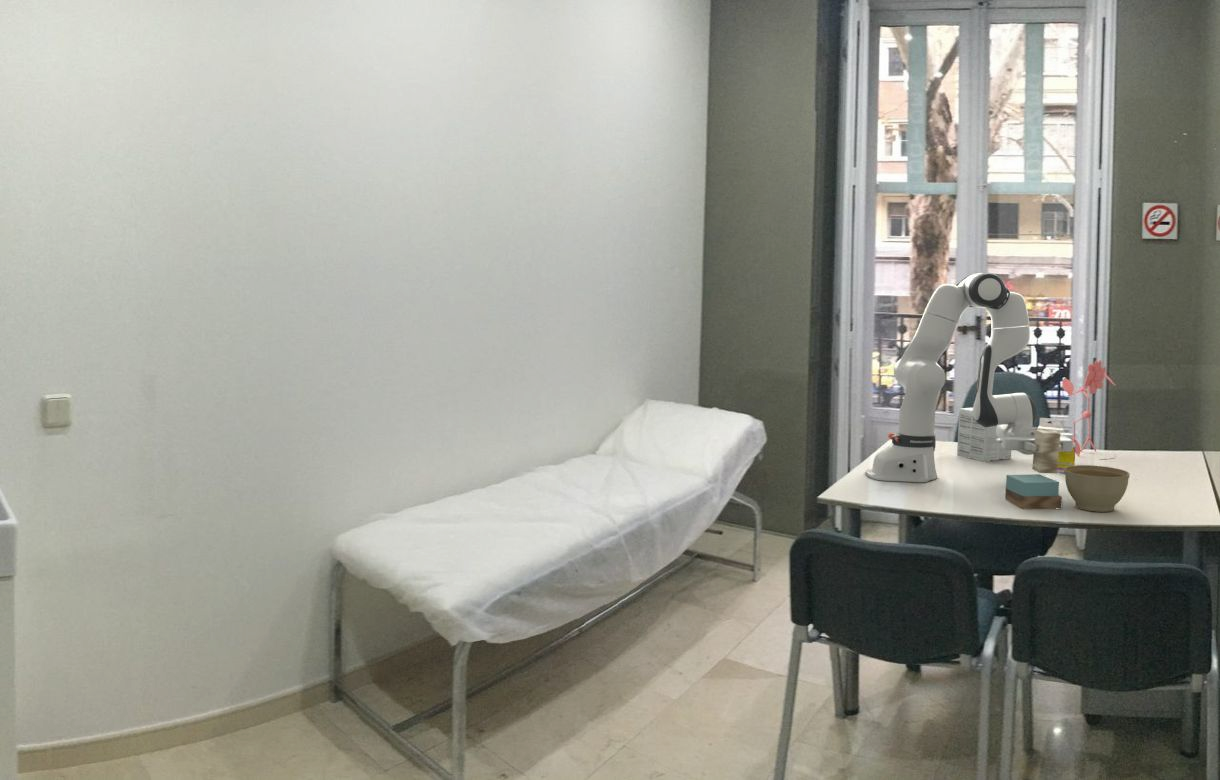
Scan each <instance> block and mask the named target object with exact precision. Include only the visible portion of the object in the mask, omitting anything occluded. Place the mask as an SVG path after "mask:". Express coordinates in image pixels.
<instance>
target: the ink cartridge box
mask: <svg viewBox="0 0 1220 780" xmlns="http://www.w3.org/2000/svg"><path fill="white" fill-rule="evenodd" d="M1049 422H1054V423H1049ZM1037 428H1039V429H1045V430H1053V431H1057V432H1058V433H1065V420H1064V419H1061V418H1059V419H1058V418H1047V417H1040V418H1039V423H1038V427H1037Z"/></svg>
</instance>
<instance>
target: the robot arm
mask: <svg viewBox="0 0 1220 780" xmlns="http://www.w3.org/2000/svg"><path fill="white" fill-rule="evenodd" d="M968 308H976V309H983V308H984V309H986V310H987V311H988V314H989V317H990V319H991V320H990V324H991V325H990V326H991V332H990V333H991V334H990V338H989V341H988V343H987V344H986V345H985V346H983V347H982V350H981V353H980V357H979V364H978V371H977V372H978V373H977V380H976V388H975V394H974V395H975V396H974V399H973V403H972V408H973V418H974V420H975V421H976V422H977V423H978V424H980V425H981V426H983V427H992V426H997V427H996V435H997V437H998V439H996V441H997V442H999V443H1001V447H1002V448H1004V449H1006V450H1011V451H1017V452H1018V453H1021V454H1022V455H1027V456H1030V455H1031V456H1032V455H1033V454H1034V451H1039V445H1037V444H1034V442H1035V430H1045V429H1039V428H1038V427H1036V426H1035V424H1036V422H1037V417H1038V416H1037V415H1038V409H1037V405H1036V402H1035V401H1034V400H1033V399H1032V397H1031V396H1030V395H1028V394H1027V393H1025V392H1015V393H1006V394H1005V393H1004V394H994V395H993V387H994V379H995V372H996V369H997V368H998V366H999V365H1000V364H1001V363H1002V362H1004V361H1007V360H1008V359H1010V358H1012V357H1014V356H1017V355H1018V354H1019V353H1021V352H1022V351H1024V349H1025V348H1027V346H1028V344H1029V342H1030V335H1031V331H1030V318H1029V312H1028V307H1027V303H1026V300H1025V298H1024V296H1023V295H1022V294H1020V293H1017V292H1015V291H1010V290H1009V288H1008V287H1007V285H1006V284H1005V283H1004V280H1002V278H1001V277H1000V276H999V275H998V274H995V273H992V272H976V273H973V274H970V275H968V276H966V277H964V278H963V279H962V280H960V282H958V283H957V284H956V285H955V284H951V283H945V284H941V285H939V286H938V287H937V288H936V289H935V290H934V291H933V293H932V295H931V297H930V299H929V301H928V303H927V305H926V307H925V309H924V312H923V315H922V317H921V319H920V321H919V324H918V327H917V330H916V331H915V334H914V335H913V338H912V340H911V341H910V343H909V344H908V346H907V348H906V349H905V351H904V352H903V355H902V356H901V358H900V359H899V360H898V361H897V362H896V363H895V364H894V367H893V376H894V378H895V380H896V381H897V383H898V384H899V385H900V386H901V387H903V388H904V389H905V391H904V396H903V400H902V404H901V406H900V407H899V410H898V432H896V433H895V434H894V433H893V432H889V433H888V434H887V437H888V439H889V440H891V444H890V445H888V446H887V447H885V448H884V449H883V450H882V451H880V452H878V453H876V455H875V456H874V459H873V462H872V467H871V468H866V469H865V475H866V476H867V477H868V478H870V479H873V480H875V481H886V482H888V481H889V482H910V483H911V482H912V483H927V482H929V481H932V480H936V479H938V478H939V477H938V473H937V470H936V469H937V468H936V460H935V451H936V441H937V440H936V434H935V425H936V424H935V423H936V410H937V405H938V401H939V397H940V394H941V390H942V388H943V387H944V386H945V383H946V379H947V378H946V377H947V376H946V373H945V370H944V369H943V367H941V366H940V365H939V364H938V362H939V360H940V358H941V357H942V355H943V354H944V352H945V351H946V350H947V349H948V348H950V346H951V343H952V341H953V338H954V336H955V333H956V330H957V328H958V326H959V322H960V320H961V317H962V315H963V313H964V312H965V310H967V309H968ZM1055 432H1057V431H1055ZM1072 450H1073V440H1072V439H1070V438H1068V437H1066V436H1063V435H1060V443H1059V452H1071V451H1072Z"/></svg>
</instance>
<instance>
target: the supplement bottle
mask: <svg viewBox="0 0 1220 780" xmlns="http://www.w3.org/2000/svg"><path fill="white" fill-rule="evenodd" d="M1060 435H1063V436H1066V437H1068V438H1070V439H1074V433H1070V432H1064V433H1060ZM1075 448H1076V444H1075V443H1074V442H1073V450H1072V451H1071V452H1059V454H1058V465H1057V473H1059V474H1065V472H1064V469H1065V468H1066V467H1068V466H1075V462H1076V453H1075Z"/></svg>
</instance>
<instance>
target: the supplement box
mask: <svg viewBox="0 0 1220 780" xmlns="http://www.w3.org/2000/svg"><path fill="white" fill-rule="evenodd" d="M996 427H997V426H992V427H983V426H981V425H980V424H978V423H977V422H976V421H975V420H974V418H973V407H965V408H964V407H962V408H959V411H958V430H957V446H956V447H957V449H956V455H957V456H959V455H961V456H960V457H963V456H965V457H964V458H967V457H969V458H968V459H971V458H973V459H972V460H975V459H977V460H976V461H979V460H981V461H980V462H983V461H986V462H991V461H990V460H994V461H1000V460H999V459H1003V460H1008V458H1011V459H1012V450H1006V449H1004V448H1002V447H1001V443H999V442H997V441H996V439H998V437H997V435H996Z"/></svg>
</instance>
